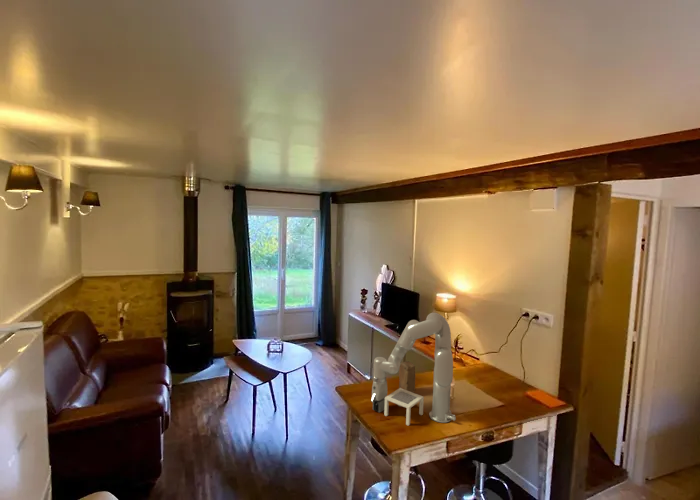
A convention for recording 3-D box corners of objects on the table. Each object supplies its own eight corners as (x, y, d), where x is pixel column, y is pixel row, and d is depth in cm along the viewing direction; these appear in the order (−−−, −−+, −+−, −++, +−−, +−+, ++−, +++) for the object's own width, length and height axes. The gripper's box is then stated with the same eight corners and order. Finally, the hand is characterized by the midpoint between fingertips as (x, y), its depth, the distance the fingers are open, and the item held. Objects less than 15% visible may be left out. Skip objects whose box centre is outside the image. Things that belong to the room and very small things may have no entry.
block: (415, 395, 237) (416, 365, 235) (405, 397, 234) (406, 366, 232) (406, 388, 247) (407, 359, 245) (396, 390, 244) (397, 360, 242)
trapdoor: (416, 398, 213) (416, 397, 213) (407, 404, 206) (407, 403, 206) (401, 392, 220) (401, 391, 220) (391, 398, 212) (391, 397, 212)
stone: (384, 409, 219) (384, 399, 218) (379, 412, 215) (380, 402, 215) (377, 406, 222) (378, 396, 222) (372, 409, 218) (373, 399, 218)
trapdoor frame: (422, 414, 215) (423, 396, 214) (408, 425, 202) (409, 407, 201) (399, 404, 225) (399, 388, 224) (384, 415, 213) (384, 397, 212)
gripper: (376, 385, 208) (375, 416, 210) (393, 376, 221) (392, 405, 223) (365, 381, 213) (364, 412, 215) (382, 372, 226) (381, 401, 228)
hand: (378, 408), depth 219 cm, fingers closed on stone, 5 cm apart
